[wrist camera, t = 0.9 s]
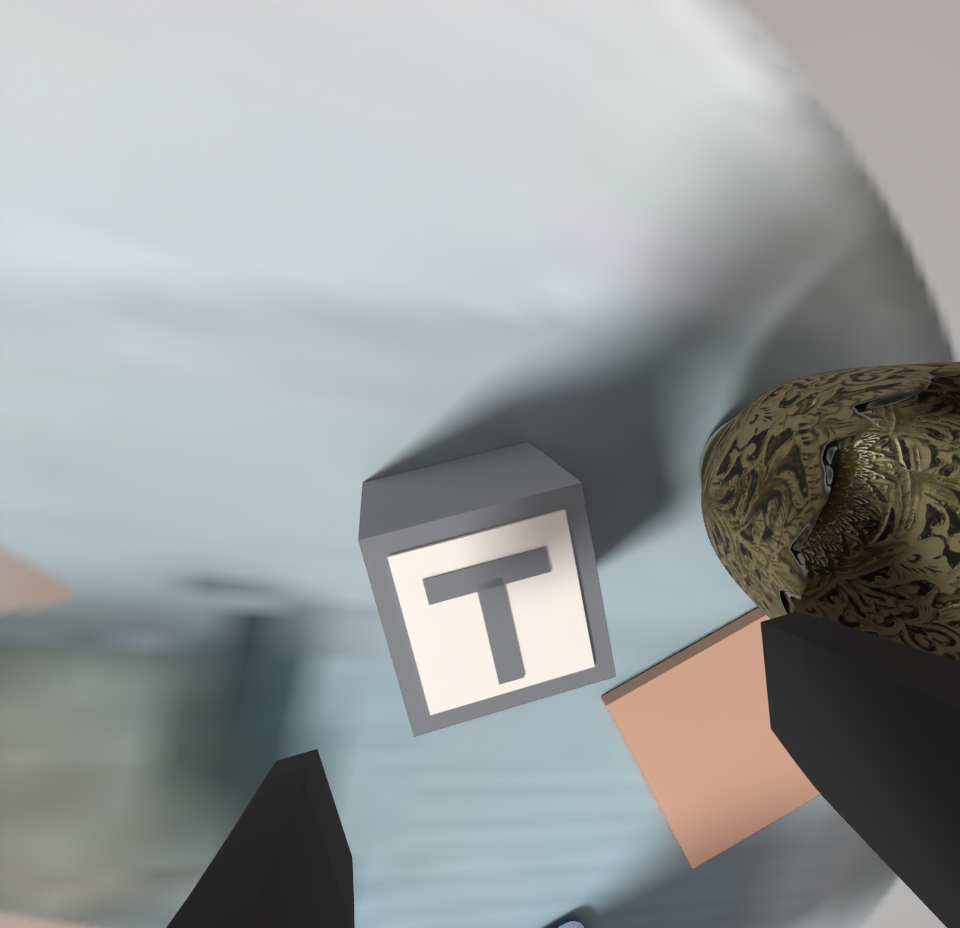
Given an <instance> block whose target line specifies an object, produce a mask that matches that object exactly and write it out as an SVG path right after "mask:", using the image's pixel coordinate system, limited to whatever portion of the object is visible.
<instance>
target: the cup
mask: <svg viewBox="0 0 960 928" xmlns="http://www.w3.org/2000/svg"><path fill="white" fill-rule="evenodd" d="M699 482H700V486H701V490H702V493H701V504H702V513H703V519H704V523H705V527H706V531H707V534H708V537H709V539H710V542H711V545H712V547H713V549H714V550H715V552H716V554H717V556H718V558H719V559H720V561H721V563H722V564H723V566H724V567H725V568H726V570H727V571H728V573H729V574H730V575H731V577H732V578H733V579H734V580H735V582H736V583H737V584H738V585H739V586H740V587H741V589H742V590H743V591H744V592H745V593H746V594H747V595H748V596H749V597H750V598H751V599H752V601H753V602H754V603H755V604H756V605H757V606H758V607H759V608H760V609H761V610H762V611H763V612H764V613H765V614H766V615H767V616H768V617H769V618H770V619H772V618H776V617H779V616H783V615H786V614H790V613H793V612H797V613H801V614H805V615H809V616H813V617H817V618H820V619H824V620H827V621H831V622H834V623H837V624H841V625H844V626H847V627H850V628H854V629H857V630H860V631H863V632H866V633H869V634H873V635H876V636H879V637H882V638H885V639H888V640H892V641H895V642H898V643H901V644H904V645H907V646H911V647H914V648H917V649H920V650H923V651H927V652H930V653H933V654H936V655H940V656H943V657H946V658H950V659H953V660H956V661H960V362H950V363H930V364H911V365H894V366H878V367H864V368H854V369H844V370H837V371H830V372H823V373H818V374H814V375H810V376H806V377H802V378H798V379H795V380H792V381H789V382H786V383H784V384H781V385H779V386H777V387H775V388H773V389H771V390H769V391H768V392H766V393H764V394H762V395H761V396H759V397H758V398H756V399H755V400H753V401H752V402H750V403H749V404H748V405H747V406H746V407H744V408H743V409H742V410H741V411H740V412H739V413H738V414H737V415H736V416H735V417H734V418H733V419H731V420H729V421H728V422H726V423H725V424H723V425H722V426H721V427H720V428H718V429H717V430H716V431H715V432H714V434H713V435H712V436H711V437H710V439H709V440H708V442H707V444H706V445H705V447H704V450H703V452H702V455H701V458H700V463H699Z"/></svg>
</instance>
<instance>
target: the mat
mask: <svg viewBox="0 0 960 928" xmlns="http://www.w3.org/2000/svg"><path fill="white" fill-rule="evenodd" d="M769 619H770V618H769V617H768V616H767V615H766V614H765V613H764V612H763V611H762V610H761V609H760V608H759V607H758V608H757V609H755V610H753V611H751V612H750V613H748V614H746V615H744V616H743V617H741V618H739V619H737V620H736V621H734V622H732V623H730V624H729V625H727V626H725V627H723V628H721V629H720V630H718V631H716V632H714V633H713V634H711V635H709V636H707V637H706V638H704V639H702V640H700V641H699V642H697V643H695V644H693V645H691V646H690V647H688V648H686V649H684V650H683V651H681V652H679V653H677V654H676V655H674V656H672V657H670V658H669V659H667V660H665V661H663V662H661V663H660V664H658V665H656V666H654V667H653V668H651V669H649V670H647V671H646V672H644V673H642V674H640V675H639V676H637V677H635V678H633V679H632V680H630V681H628V682H626V683H624V684H623V685H621V686H619V687H617V688H616V689H614V690H612V691H610V692H609V693H607V694H605V695H603V696H602V697H601V698H602V700H603V702H604V704H605V706H606V708H607V710H608V711H609V713H610V715H611V717H612V719H613V721H614V723H615V725H616V726H617V728H618V730H619V732H620V734H621V736H622V738H623V740H624V742H625V743H626V745H627V747H628V749H629V751H630V753H631V755H632V757H633V758H634V760H635V762H636V764H637V766H638V768H639V770H640V772H641V774H642V775H643V777H644V779H645V781H646V783H647V785H648V787H649V789H650V790H651V792H652V794H653V796H654V798H655V800H656V802H657V804H658V806H659V807H660V809H661V811H662V813H663V815H664V817H665V819H666V821H667V823H668V824H669V826H670V828H671V830H672V832H673V834H674V836H675V838H676V839H677V841H678V843H679V845H680V847H681V849H682V851H683V853H684V855H685V856H686V858H687V860H688V862H689V863H690V865H691V867H692V869H694V868H695V867H697V866H699V865H701V864H702V863H704V862H706V861H707V860H709V859H711V858H713V857H714V856H716V855H718V854H719V853H721V852H723V851H724V850H726V849H728V848H730V847H731V846H733V845H735V844H736V843H738V842H740V841H742V840H743V839H745V838H747V837H748V836H750V835H752V834H754V833H755V832H757V831H759V830H760V829H762V828H764V827H766V826H767V825H769V824H771V823H772V822H774V821H776V820H778V819H779V818H781V817H783V816H784V815H786V814H788V813H790V812H791V811H793V810H795V809H796V808H798V807H800V806H802V805H803V804H805V803H807V802H808V801H810V800H812V799H814V798H815V797H817V796H819V795H820V793H819V791H818V790H817V789H816V788H815V787H814V786H813V785H812V783H811V782H810V781H809V780H808V778H807V777H806V776H805V774H804V773H803V772H802V770H801V769H800V768H799V767H798V765H797V764H796V763H795V761H794V760H793V759H792V757H791V756H790V755H789V753H788V752H787V750H786V749H785V748H784V746H783V745H782V743H781V742H780V741H779V739H778V738H777V737H776V735H775V734H774V732H773V731H772V730H771V727H770V716H769V706H768V696H767V685H766V675H765V664H764V654H763V644H762V633H761V623H760V622H762V621H765V620H769Z"/></svg>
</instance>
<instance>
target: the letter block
mask: <svg viewBox="0 0 960 928" xmlns="http://www.w3.org/2000/svg"><path fill="white" fill-rule="evenodd" d="M358 541H359V544H360V548H361V552H362V555H363V559H364V562H365V566H366V569H367V573H368V576H369V580H370V583H371V587H372V590H373V594H374V598H375V601H376V605H377V608H378V612H379V615H380V619H381V622H382V626H383V629H384V633H385V636H386V640H387V643H388V647H389V651H390V654H391V658H392V661H393V665H394V668H395V672H396V675H397V679H398V682H399V686H400V689H401V693H402V696H403V700H404V704H405V707H406V711H407V714H408V718H409V721H410V725H411V728H412V732H413V735H414V737H415V736H419V735H422V734H426V733H429V732H432V731H436V730H439V729H442V728H446V727H449V726H452V725H456V724H459V723H462V722H466V721H469V720H472V719H476V718H479V717H482V716H486V715H489V714H493V713H496V712H499V711H503V710H506V709H509V708H513V707H516V706H519V705H523V704H526V703H529V702H533V701H536V700H539V699H543V698H546V697H550V696H553V695H556V694H560V693H563V692H566V691H570V690H573V689H576V688H580V687H583V686H586V685H590V684H593V683H596V682H600V681H603V680H606V679H610V678H613V677H616V673H615V667H614V662H613V656H612V650H611V645H610V639H609V633H608V628H607V622H606V617H605V611H604V605H603V600H602V594H601V588H600V583H599V577H598V571H597V566H596V560H595V554H594V549H593V543H592V538H591V532H590V526H589V521H588V515H587V509H586V504H585V498H584V492H583V487H582V482H581V481H579V480H578V479H577V478H575V477H574V476H573V475H571V474H570V473H569V472H567V471H566V470H565V469H564V468H562V467H561V466H560V465H558V464H557V463H556V462H554V461H553V460H552V459H551V458H549V457H548V456H547V455H545V454H544V453H543V452H541V451H540V450H539V449H537V448H536V447H535V446H534V445H532V444H531V443H530V442H528V441H527V442H523V443H519V444H515V445H511V446H507V447H503V448H499V449H495V450H491V451H487V452H483V453H479V454H475V455H471V456H466V457H462V458H458V459H454V460H450V461H446V462H442V463H438V464H434V465H430V466H426V467H422V468H418V469H414V470H410V471H406V472H402V473H398V474H394V475H390V476H386V477H382V478H378V479H374V480H370V481H366V482H363V485H362V499H361V512H360V525H359V538H358Z"/></svg>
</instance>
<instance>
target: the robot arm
mask: <svg viewBox="0 0 960 928" xmlns="http://www.w3.org/2000/svg"><path fill="white" fill-rule="evenodd" d="M760 623H761V633H762V644H763V654H764V664H765V675H766V685H767V696H768V706H769V716H770V727H771V730H772V731H773V732H774V734H775V735H776V737H777V738H778V739H779V741H780V742H781V743H782V745H783V746H784V748H785V749H786V750H787V752H788V753H789V755H790V756H791V757H792V759H793V760H794V761H795V763H796V764H797V765H798V767H799V768H800V769H801V770H802V772H803V773H804V774H805V776H806V777H807V778H808V780H809V781H810V782H811V783H812V785H813V786H814V787H815V788H816V789H817V790H818V791H819V793H820V794H821V795H822V796H823V797H824V798H825V799H826V800H827V801H828V802H829V803H830V804H831V806H832V807H833V808H834V809H835V810H836V811H837V812H838V813H839V814H840V815H841V816H842V817H843V818H844V819H845V821H846V822H847V823H848V824H849V825H850V826H851V827H852V828H853V829H854V830H855V831H856V832H857V833H858V834H859V835H860V836H861V838H862V839H863V840H864V841H865V842H866V843H867V844H868V845H869V846H870V847H871V848H872V849H873V850H874V851H875V852H876V853H877V854H878V855H879V856H880V858H881V859H882V860H883V861H884V862H885V863H886V864H887V865H888V866H889V867H890V868H891V869H892V870H893V871H894V872H895V873H896V874H897V875H898V876H899V877H900V879H901V880H903V882H904V883H905V884H906V885H907V886H908V887H909V888H910V889H911V890H912V891H913V892H914V893H915V894H916V895H917V896H918V897H919V899H920V900H922V902H923V903H924V904H925V905H926V906H927V907H928V908H929V909H930V910H931V911H932V912H933V913H934V914H935V915H936V916H937V917H938V919H939V920H940V921H941V922H942V923H943V924H944V925H945V926H946V927H947V928H960V661H956V660H953V659H950V658H946V657H943V656H940V655H936V654H933V653H930V652H927V651H923V650H920V649H917V648H914V647H911V646H907V645H904V644H901V643H898V642H895V641H892V640H888V639H885V638H882V637H879V636H876V635H873V634H869V633H866V632H863V631H860V630H857V629H854V628H850V627H847V626H844V625H841V624H837V623H834V622H831V621H827V620H824V619H820V618H817V617H813V616H809V615H805V614H801V613H797V612H793V613H790V614H786V615H783V616H779V617H776V618H772V619H769V620H765V621H762V622H760ZM167 928H354V891H353V864H352V855H351V852H350V849H349V846H348V843H347V840H346V837H345V834H344V831H343V827H342V824H341V821H340V818H339V815H338V812H337V809H336V806H335V803H334V800H333V796H332V793H331V790H330V787H329V784H328V781H327V778H326V775H325V772H324V768H323V765H322V762H321V759H320V756H319V753H318V750H317V749H316V750H313V751H309V752H306V753H302V754H299V755H295V756H292V757H288V758H285V759H281V760H278V761H276V762H275V764H274V765H273V767H272V768H271V770H270V771H269V773H268V774H267V776H266V778H265V779H264V781H263V782H262V784H261V785H260V787H259V788H258V790H257V792H256V793H255V795H254V796H253V798H252V799H251V801H250V803H249V804H248V806H247V807H246V809H245V811H244V812H243V814H242V815H241V817H240V818H239V820H238V822H237V823H236V825H235V826H234V828H233V829H232V831H231V833H230V834H229V836H228V837H227V839H226V840H225V842H224V844H223V845H222V847H221V848H220V850H219V851H218V853H217V854H216V856H215V857H214V859H213V860H212V862H211V863H210V865H209V866H208V868H207V869H206V871H205V872H204V874H203V875H202V877H201V879H200V880H199V882H198V883H197V885H196V886H195V888H194V889H193V891H192V892H191V894H190V895H189V897H188V898H187V900H186V901H185V902H184V904H183V905H182V907H181V908H180V909H179V911H178V912H177V914H176V915H175V916H174V918H173V919H172V921H171V922H170V923H169V925H168V926H167ZM558 928H584V926H583V925H582V924H581V923H580V922H577V921H569V922H567V923H565V924H563V925H561V926H560V927H558Z"/></svg>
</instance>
